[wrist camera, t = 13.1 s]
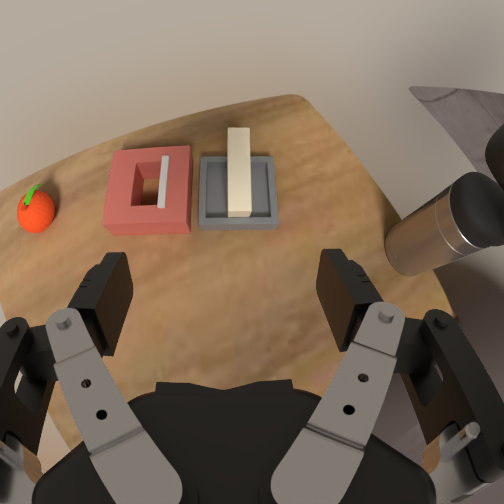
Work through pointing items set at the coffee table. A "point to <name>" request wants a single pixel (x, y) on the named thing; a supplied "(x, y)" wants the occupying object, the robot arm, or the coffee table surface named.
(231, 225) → the tray
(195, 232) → the coffee table surface
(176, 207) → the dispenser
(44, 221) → the clementine
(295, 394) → the robot arm
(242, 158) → the tall beige block
